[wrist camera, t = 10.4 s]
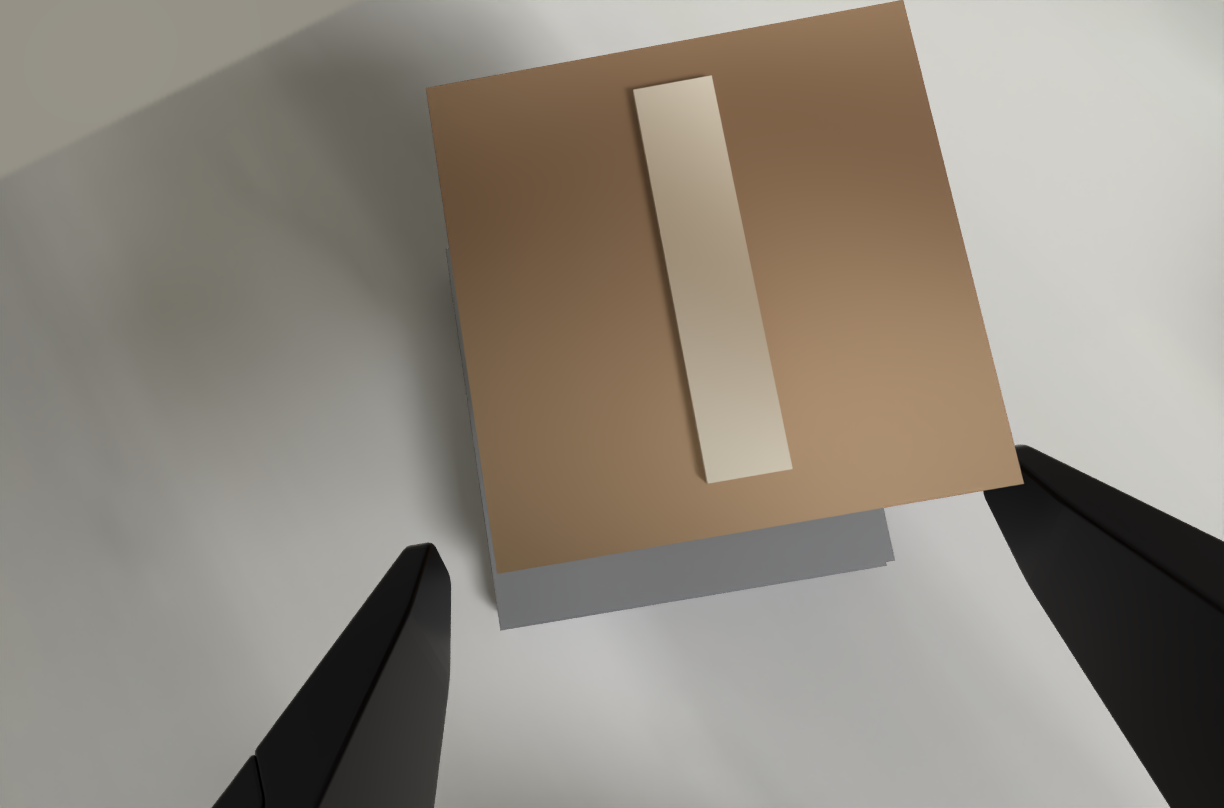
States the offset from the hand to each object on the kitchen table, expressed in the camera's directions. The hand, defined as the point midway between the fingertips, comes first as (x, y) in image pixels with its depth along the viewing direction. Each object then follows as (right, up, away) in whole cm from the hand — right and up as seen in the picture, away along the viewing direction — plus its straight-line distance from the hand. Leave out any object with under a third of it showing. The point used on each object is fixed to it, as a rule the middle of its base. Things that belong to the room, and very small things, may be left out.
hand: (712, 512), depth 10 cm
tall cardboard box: (0, +2, +8) cm, 8 cm away
